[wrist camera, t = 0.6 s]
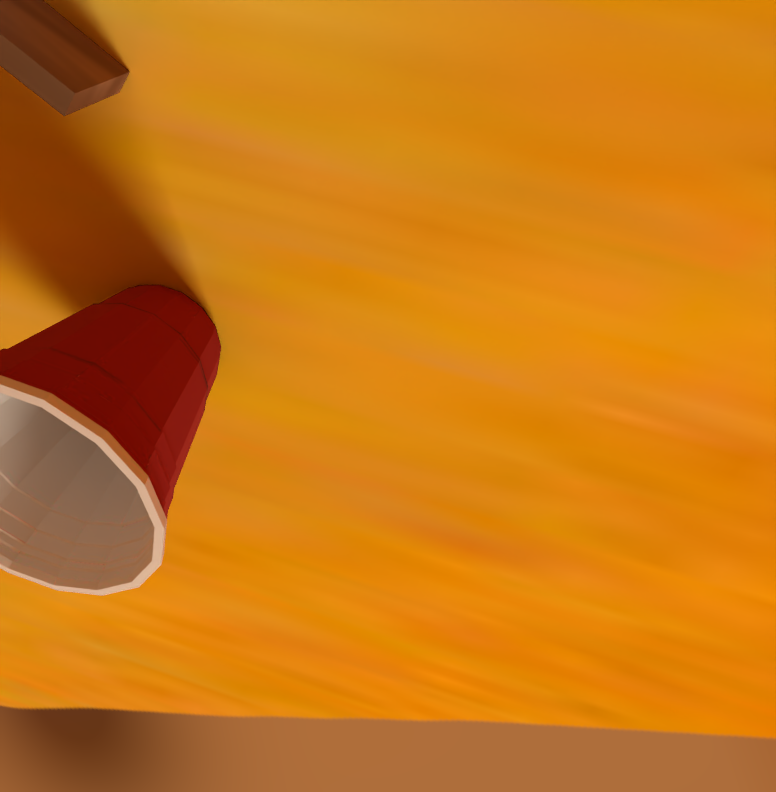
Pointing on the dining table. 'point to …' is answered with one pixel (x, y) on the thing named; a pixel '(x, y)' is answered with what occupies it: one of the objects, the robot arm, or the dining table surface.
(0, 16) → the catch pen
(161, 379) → the plastic cup
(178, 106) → the dining table surface
